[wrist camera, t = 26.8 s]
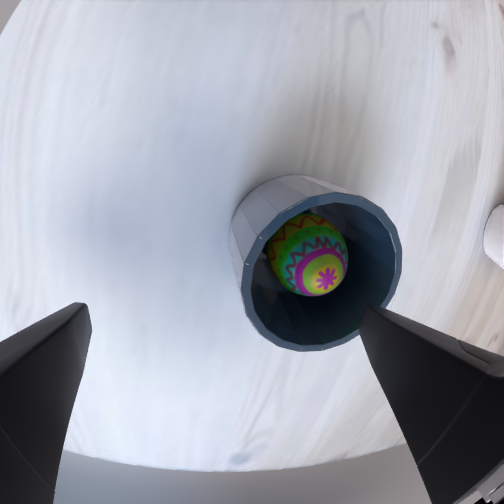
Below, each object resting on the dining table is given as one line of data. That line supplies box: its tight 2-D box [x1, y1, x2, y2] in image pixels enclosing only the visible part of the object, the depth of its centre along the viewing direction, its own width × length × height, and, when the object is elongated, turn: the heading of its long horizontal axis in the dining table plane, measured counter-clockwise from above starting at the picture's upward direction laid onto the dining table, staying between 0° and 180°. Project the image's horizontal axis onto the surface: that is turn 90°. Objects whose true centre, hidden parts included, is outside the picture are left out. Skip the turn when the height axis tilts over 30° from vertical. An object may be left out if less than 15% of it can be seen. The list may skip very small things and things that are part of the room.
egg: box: [266, 213, 348, 296], centre depth 18 cm, size 5×5×6 cm
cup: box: [229, 175, 402, 352], centre depth 18 cm, size 9×9×7 cm
